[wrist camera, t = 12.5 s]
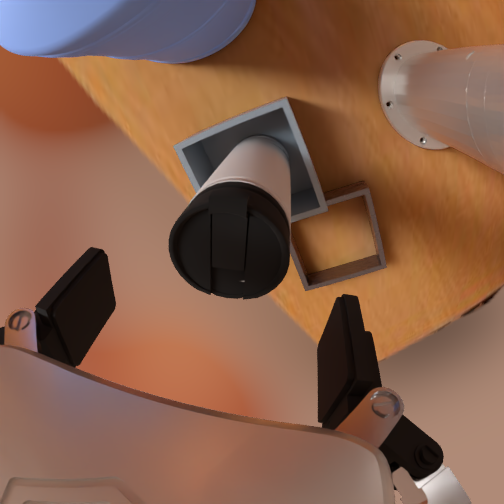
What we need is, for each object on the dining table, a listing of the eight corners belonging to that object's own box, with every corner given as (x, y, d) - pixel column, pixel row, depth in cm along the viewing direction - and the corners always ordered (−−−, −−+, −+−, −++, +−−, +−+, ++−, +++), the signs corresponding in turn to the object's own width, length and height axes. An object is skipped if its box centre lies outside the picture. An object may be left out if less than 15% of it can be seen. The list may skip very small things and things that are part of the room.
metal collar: (363, 180, 32) (368, 187, 30) (381, 256, 37) (386, 267, 35) (276, 208, 35) (275, 217, 33) (304, 279, 40) (305, 291, 38)
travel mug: (293, 134, 30) (301, 204, 13) (286, 193, 33) (281, 320, 16) (233, 128, 30) (159, 189, 13) (229, 186, 34) (168, 303, 16)
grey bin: (286, 96, 29) (286, 98, 23) (321, 186, 33) (328, 211, 27) (194, 133, 32) (173, 145, 26) (233, 216, 36) (222, 245, 30)
